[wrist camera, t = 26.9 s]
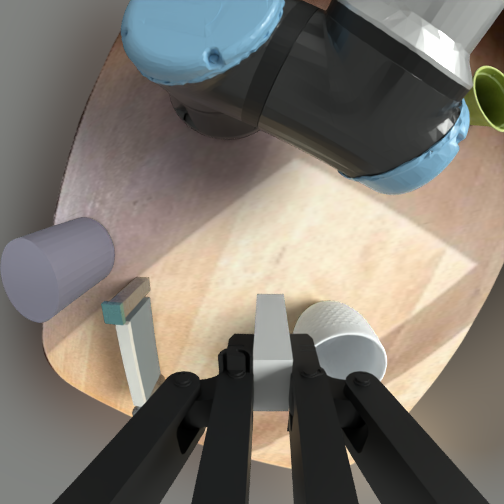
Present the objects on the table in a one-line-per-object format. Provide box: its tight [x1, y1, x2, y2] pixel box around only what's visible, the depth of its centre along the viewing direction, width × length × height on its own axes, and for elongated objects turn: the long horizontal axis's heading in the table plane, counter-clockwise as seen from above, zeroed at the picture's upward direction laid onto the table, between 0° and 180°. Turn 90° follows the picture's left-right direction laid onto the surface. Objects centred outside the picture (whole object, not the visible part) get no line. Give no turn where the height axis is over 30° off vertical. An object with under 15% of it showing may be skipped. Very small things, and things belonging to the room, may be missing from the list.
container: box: [0, 217, 115, 322], centre depth 36 cm, size 10×10×15 cm
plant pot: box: [464, 66, 504, 132], centre depth 31 cm, size 9×9×9 cm
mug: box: [293, 301, 387, 381], centre depth 38 cm, size 15×11×13 cm
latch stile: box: [101, 277, 150, 325], centre depth 38 cm, size 3×3×11 cm
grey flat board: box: [116, 297, 161, 407], centre depth 41 cm, size 14×2×9 cm, turn 179°
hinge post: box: [132, 374, 165, 416], centre depth 43 cm, size 3×3×11 cm
